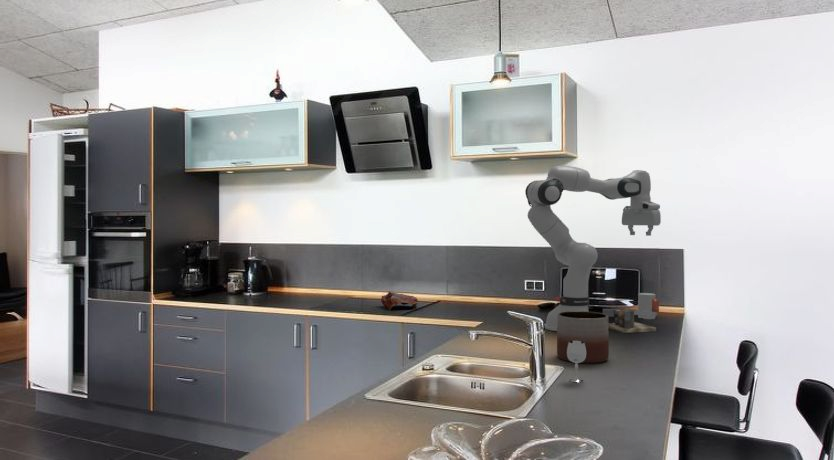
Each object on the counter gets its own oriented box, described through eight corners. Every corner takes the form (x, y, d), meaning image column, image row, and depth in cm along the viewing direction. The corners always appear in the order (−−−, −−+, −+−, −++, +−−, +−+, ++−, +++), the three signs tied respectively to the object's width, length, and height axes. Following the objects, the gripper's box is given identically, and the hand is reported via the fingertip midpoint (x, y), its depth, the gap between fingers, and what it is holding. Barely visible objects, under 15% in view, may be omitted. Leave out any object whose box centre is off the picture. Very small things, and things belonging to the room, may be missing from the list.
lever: (603, 316, 276) (603, 298, 276) (602, 315, 280) (602, 297, 280) (659, 318, 270) (659, 300, 270) (658, 317, 274) (658, 299, 274)
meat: (401, 304, 356) (401, 287, 355) (426, 308, 340) (426, 290, 340) (373, 308, 342) (373, 290, 341) (398, 312, 326) (398, 293, 326)
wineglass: (564, 378, 189) (564, 340, 188) (582, 378, 189) (582, 340, 189) (570, 383, 183) (570, 344, 183) (589, 383, 183) (589, 343, 183)
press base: (623, 332, 265) (623, 312, 265) (605, 326, 280) (605, 307, 280) (655, 331, 269) (656, 310, 269) (636, 325, 284) (636, 306, 283)
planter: (600, 367, 204) (601, 320, 204) (549, 360, 213) (550, 315, 213) (614, 356, 219) (614, 313, 219) (566, 351, 229) (566, 309, 228)
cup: (656, 319, 300) (656, 295, 300) (639, 318, 302) (639, 294, 302) (653, 316, 308) (653, 293, 308) (636, 316, 310) (637, 292, 310)
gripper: (618, 205, 289) (618, 235, 289) (653, 205, 271) (652, 235, 271) (628, 206, 292) (628, 234, 292) (663, 205, 274) (662, 235, 274)
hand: (640, 235), depth 282 cm, fingers open, 8 cm apart
